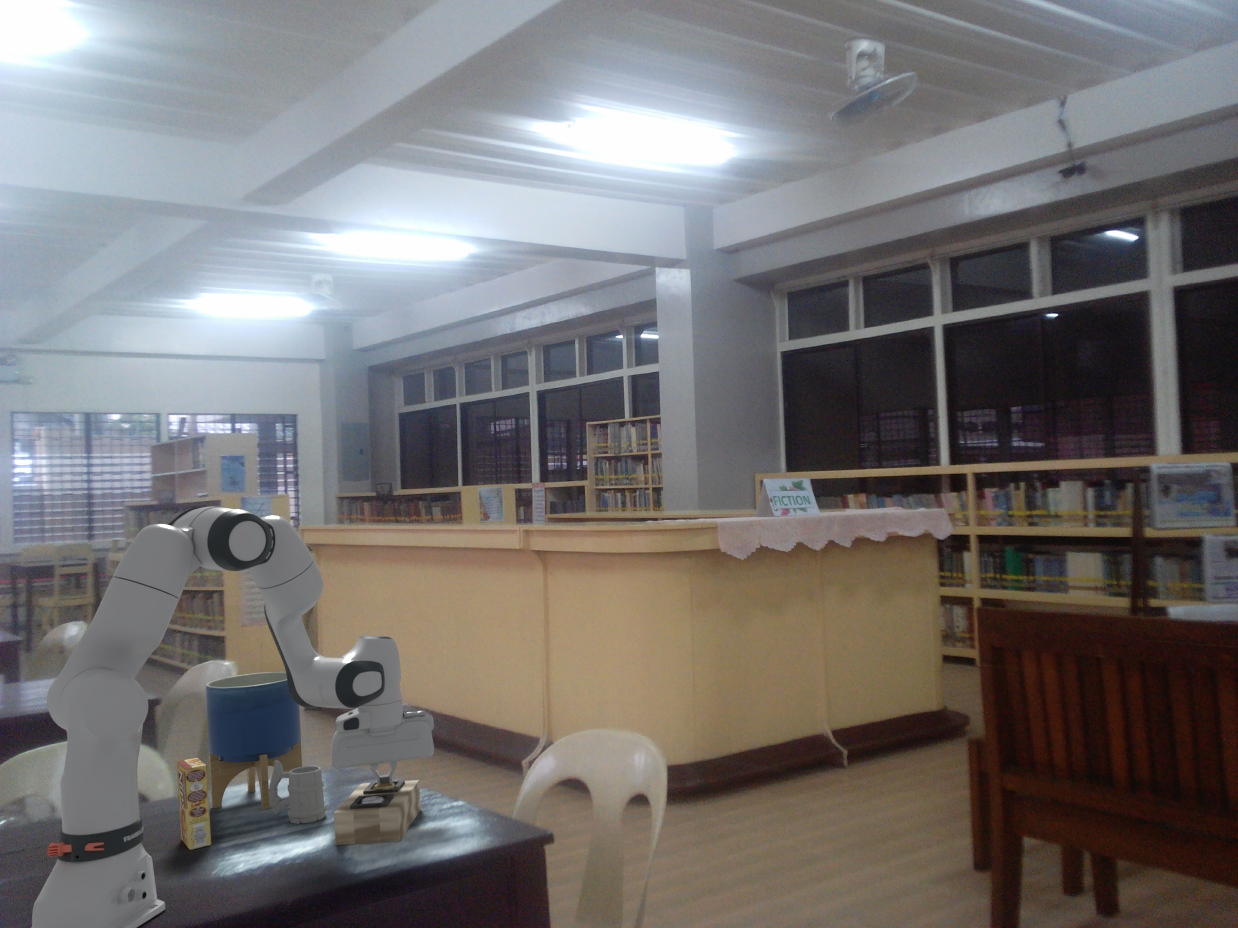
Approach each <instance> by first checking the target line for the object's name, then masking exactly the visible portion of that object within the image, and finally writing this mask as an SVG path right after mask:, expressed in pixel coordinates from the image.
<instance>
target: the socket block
mask: <svg viewBox="0 0 1238 928" xmlns="http://www.w3.org/2000/svg"><path fill="white" fill-rule="evenodd" d="M392 783H394V784H395V787H394V788H387V789H374V785H376V784H377V781H371V782H365V783H360V784H359V785H358V786H357V787H356V788H355V789H354V790H353V792H351V793H350V794H349V796H348V797H346V799H345V800H344V801H343V803H341V804H340V805H339V807H338V808H337V809H336V810H335V811H334V812H333V820H334V821H333V822H334V837H335V839H334V840H335V846H346V845H360V844H361V845H364V844H374V843H375V844H376V843H377V844H378V843H393V842H401V840H402V839H403V838H404V836H405V834H406V833H407V832H408V830H409V828H410V827H411V826H412V824H413V822H414V820H415V819H416V818H417V816H418V815H419V813H420V812H421V810H422V807H421V803H422V802H421V791H420V790H421V789H420V780H419V779H417V780H416V779H414V780H406V779H400V780H392ZM373 796H380V797H383V802H382V803H368V804H362V799H364V798H367V797H373Z"/></svg>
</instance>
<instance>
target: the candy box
mask: <svg viewBox="0 0 1238 928" xmlns="http://www.w3.org/2000/svg"><path fill="white" fill-rule="evenodd" d="M176 776H177V790H178V791H177V792H178V807H179V809H178V810H179V819H180V822H179V823H180V838H181V840H182V842H183V843H184V845H186V847H187V848H188V850H190V851H191V850H195V849H201V848H204V847H208V846H209V847H210V846H211V845H212V833H211V819H210V804H209V802H210V801H209V785H208V782H209V781H208V770H207V765H206V763H205V762H203V761H201V759H200V758H198V757H195V758H189V759H183V760H177V761H176Z"/></svg>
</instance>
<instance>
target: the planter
mask: <svg viewBox="0 0 1238 928" xmlns="http://www.w3.org/2000/svg"><path fill="white" fill-rule="evenodd" d="M205 696H206V714H207V715H206V717H207V736H208V753H209V754H208V756H209V757H208V759H209V777H210V780H209V781H210V798H211V799H210V800H211V808H212V809H218V808H222V807H223V797H224V795H225V792H226V789H227V787H228V786H229V785H230V783H231V782H232V780H233V779H234V778H236V777H237V776H238V775H239V774H241V773H242V772H244V771H246V779H247V791H248V793H252V792H253V793H255V792H256V777H257V780H258V786H259V790H260V791H259V792H260V802H261V803H260V804H261V809H262V810H263V811H264V810H269V809H271V807H270V804H269V795H268V790H269V785H270V782H269V769H268V768H269V767H273V768H274V761H275V760H278V761H280V763H281V764H282V766H283V771H284V772H289V771H290V770H292V769H295V768H298V767H303V757H302V756H303V755H302V730H301V729H302V728H301V713H300V712H301V711H300V705H299V704H297V703H296V702H295V701H294V700H293V698H292V696H291V694H290V692H289V688H288V682H287V675H286V671H271V672H270V671H269V672H267V671H266V672H254V673H247V674H240V675H233V676H228V677H227V676H226V677H223V678H218V679H214V680H212V681H209V682H207V683H206V684H205Z"/></svg>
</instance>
